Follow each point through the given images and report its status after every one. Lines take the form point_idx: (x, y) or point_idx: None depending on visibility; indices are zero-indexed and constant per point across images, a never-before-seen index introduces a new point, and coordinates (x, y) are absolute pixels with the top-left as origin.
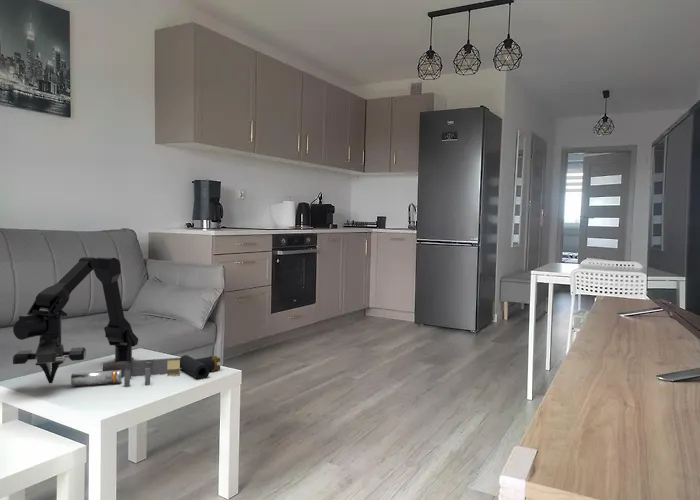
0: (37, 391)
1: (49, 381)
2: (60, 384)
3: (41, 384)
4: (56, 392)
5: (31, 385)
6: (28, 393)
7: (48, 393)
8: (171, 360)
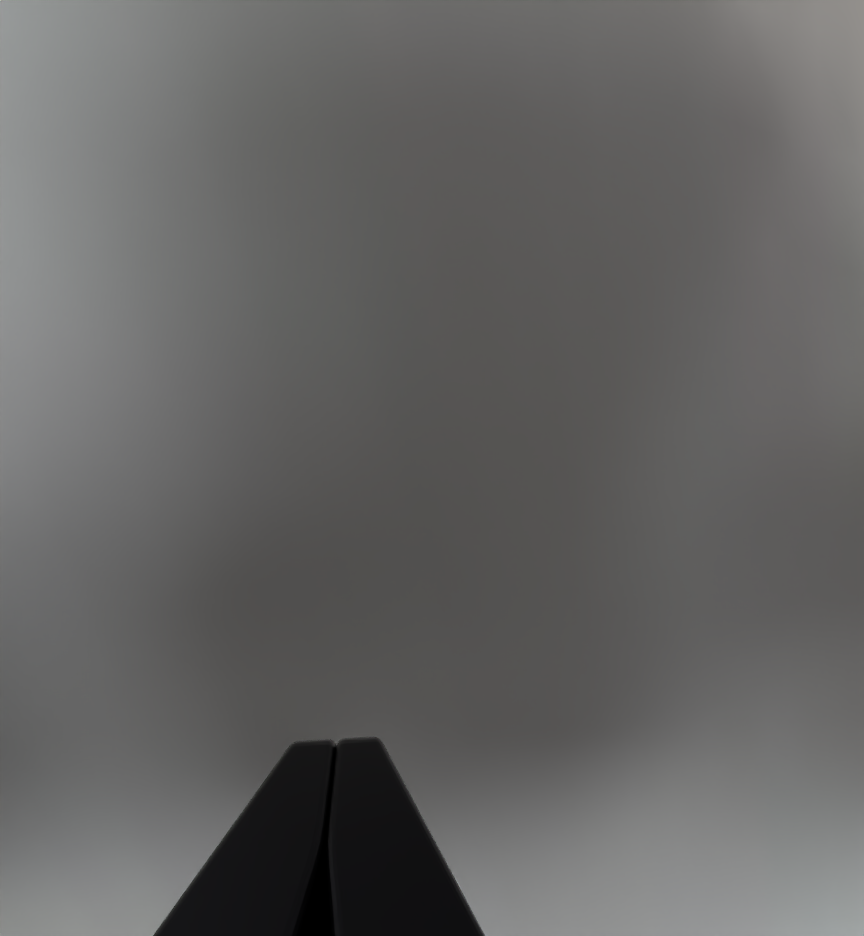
0: (622, 462)
1: (360, 778)
2: (195, 869)
3: (601, 922)
4: (46, 221)
5: (785, 895)
6: (834, 335)
7: (273, 175)
8: None
